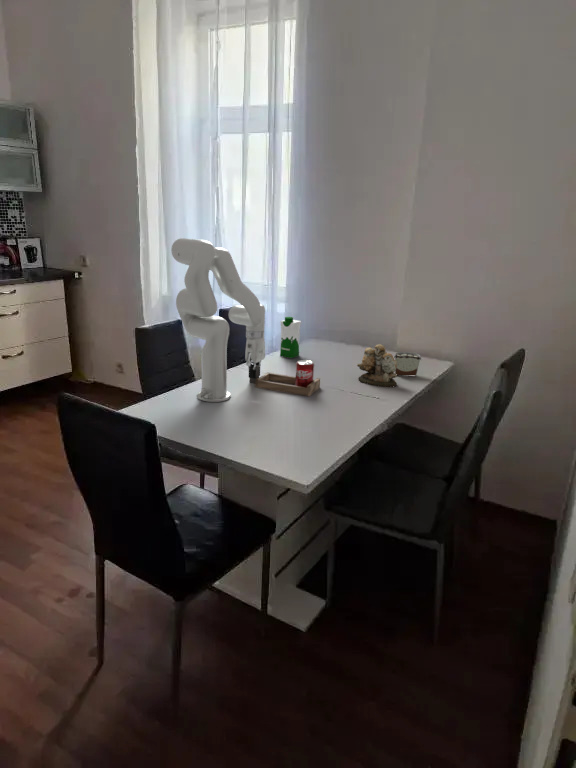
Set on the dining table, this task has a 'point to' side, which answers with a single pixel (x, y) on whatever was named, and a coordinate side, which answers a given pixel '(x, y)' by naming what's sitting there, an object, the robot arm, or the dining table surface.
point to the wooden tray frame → (265, 384)
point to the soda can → (304, 373)
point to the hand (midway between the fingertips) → (254, 376)
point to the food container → (407, 363)
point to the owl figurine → (378, 367)
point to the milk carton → (290, 337)
